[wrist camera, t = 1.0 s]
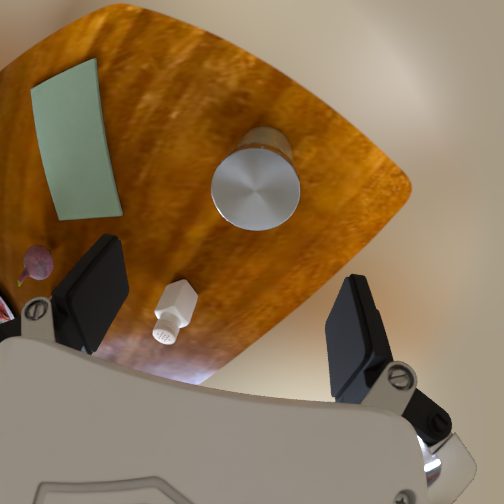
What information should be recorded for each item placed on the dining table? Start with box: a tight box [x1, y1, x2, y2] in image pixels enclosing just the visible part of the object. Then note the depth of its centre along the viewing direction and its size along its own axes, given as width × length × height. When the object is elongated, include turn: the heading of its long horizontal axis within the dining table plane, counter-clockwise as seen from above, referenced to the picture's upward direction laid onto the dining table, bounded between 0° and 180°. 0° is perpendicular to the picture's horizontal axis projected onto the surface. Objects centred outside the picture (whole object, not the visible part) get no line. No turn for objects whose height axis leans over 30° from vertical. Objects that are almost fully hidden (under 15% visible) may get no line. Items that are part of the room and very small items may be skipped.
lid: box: [211, 143, 300, 231], centre depth 20 cm, size 6×6×2 cm
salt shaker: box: [153, 279, 198, 344], centre depth 38 cm, size 4×4×10 cm
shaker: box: [232, 127, 295, 166], centre depth 24 cm, size 6×6×12 cm
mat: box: [31, 58, 123, 220], centre depth 30 cm, size 22×13×1 cm, turn 3°
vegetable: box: [18, 245, 53, 286], centre depth 36 cm, size 6×6×10 cm
